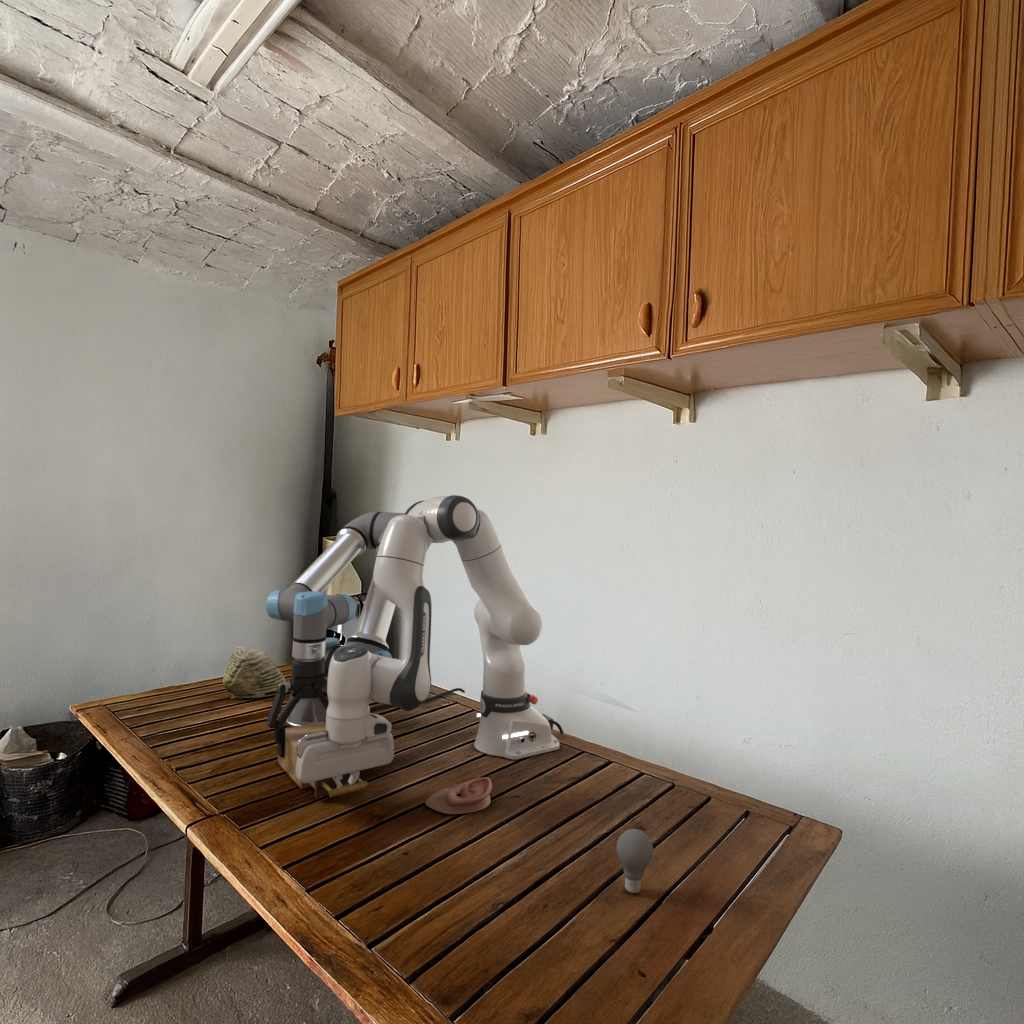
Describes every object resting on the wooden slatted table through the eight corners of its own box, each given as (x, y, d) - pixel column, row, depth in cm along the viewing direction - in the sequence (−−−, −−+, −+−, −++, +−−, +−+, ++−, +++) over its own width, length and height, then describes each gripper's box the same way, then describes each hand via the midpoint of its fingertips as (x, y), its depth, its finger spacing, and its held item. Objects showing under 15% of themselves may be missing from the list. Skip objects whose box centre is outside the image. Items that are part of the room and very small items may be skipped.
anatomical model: (420, 791, 129) (438, 768, 141) (419, 810, 129) (437, 786, 141) (483, 800, 127) (496, 776, 138) (482, 819, 127) (495, 794, 138)
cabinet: (348, 777, 143) (349, 743, 143) (301, 789, 137) (302, 753, 137) (321, 752, 156) (322, 721, 156) (277, 762, 150) (278, 729, 150)
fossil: (218, 695, 195) (220, 647, 195) (278, 685, 208) (279, 640, 207) (228, 703, 189) (230, 653, 188) (289, 692, 201) (290, 645, 201)
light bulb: (610, 879, 108) (613, 822, 108) (644, 879, 109) (647, 822, 109) (619, 902, 102) (622, 840, 102) (655, 901, 103) (658, 840, 103)
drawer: (370, 797, 133) (372, 769, 132) (326, 809, 127) (328, 780, 127) (332, 762, 149) (333, 737, 149) (292, 771, 143) (293, 745, 143)
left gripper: (262, 667, 140) (259, 766, 140) (361, 655, 154) (357, 745, 154) (253, 660, 146) (249, 755, 146) (348, 649, 160) (345, 735, 160)
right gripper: (302, 741, 122) (300, 812, 123) (398, 722, 135) (396, 787, 135) (292, 731, 127) (289, 799, 128) (385, 713, 140) (383, 775, 140)
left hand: (305, 750), depth 150 cm, fingers closed on cabinet, 11 cm apart
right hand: (345, 792), depth 131 cm, fingers closed, pressing on drawer
